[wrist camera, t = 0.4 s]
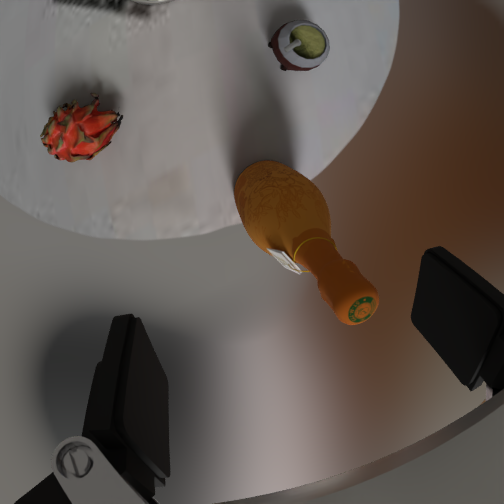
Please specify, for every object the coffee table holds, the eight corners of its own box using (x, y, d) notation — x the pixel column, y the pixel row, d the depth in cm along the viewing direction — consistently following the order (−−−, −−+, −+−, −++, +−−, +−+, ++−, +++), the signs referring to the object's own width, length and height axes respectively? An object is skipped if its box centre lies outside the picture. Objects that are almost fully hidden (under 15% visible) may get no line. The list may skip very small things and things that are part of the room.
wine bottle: (229, 160, 43) (292, 252, 16) (296, 155, 44) (434, 234, 18) (234, 224, 47) (288, 377, 21) (296, 218, 49) (405, 347, 22)
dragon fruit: (52, 133, 37) (126, 114, 40) (51, 182, 36) (130, 162, 39) (34, 100, 29) (119, 77, 32) (27, 154, 28) (121, 128, 31)
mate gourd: (318, 40, 37) (369, 18, 24) (302, 86, 40) (350, 79, 27) (270, 22, 35) (305, -13, 22) (253, 69, 38) (282, 50, 24)
